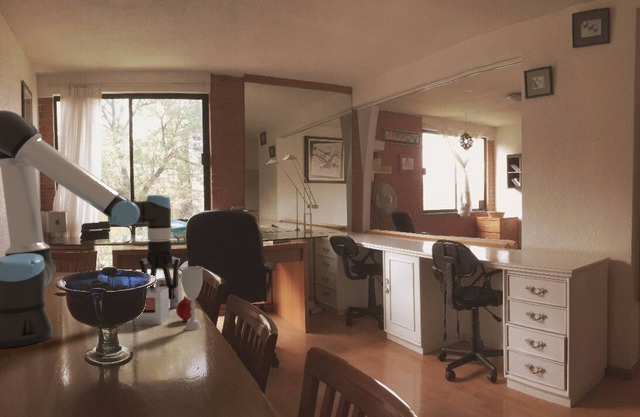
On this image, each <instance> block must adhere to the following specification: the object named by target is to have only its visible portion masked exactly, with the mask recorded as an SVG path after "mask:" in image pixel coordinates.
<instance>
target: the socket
mask: <svg viewBox="0 0 640 417" xmlns="http://www.w3.org/2000/svg"><path fill="white" fill-rule="evenodd" d="M156 280H157V282H156V283H155V282H154V286H155V287H161V286H167V284H166V280H165V277H162V278H161V277H159V278H157V279H156ZM171 280H172V284H173V277H171ZM182 289H183V288H182V277H178V286H177V287H176V288H173V298H172V299H170V308H169V309H172V308H173V309H174V308H175V309H176V308H177V305H178V304H179V302H180V301H181V300H183V298H182V295H183V294H182Z"/></svg>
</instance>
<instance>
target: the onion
mask: <svg viewBox="0 0 640 417" xmlns="http://www.w3.org/2000/svg"><path fill="white" fill-rule="evenodd" d="M190 305H191V299H189V298H188V297H187V295H184V296H183V298H182V300H181V301H180V302H179V304H178V305H177V308H175V312H176V315H177V316H178V317H179V318H180V319H181V320H183V321H184V322H187V321H188V320H190V319H191V316H192V315H191V313H190V311H191V306H190ZM194 309H195V310H196V307H195V308H194Z"/></svg>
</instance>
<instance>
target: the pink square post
mask: <svg viewBox="0 0 640 417" xmlns="http://www.w3.org/2000/svg"><path fill="white" fill-rule="evenodd" d="M161 287H167V286H161ZM144 310H155V298H146V306H145V309H144Z"/></svg>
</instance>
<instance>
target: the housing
mask: <svg viewBox="0 0 640 417" xmlns="http://www.w3.org/2000/svg"><path fill="white" fill-rule="evenodd" d="M147 298H155V310H144V311H143V313H142V314H141V315H140V316H139V317H138V318H136V319H135V320H134V319H133V320H134V326H151V325H152V326H153V325H154V326H155V325H162V324H163V323H164V322H165V321H166V320H167V319H168V318H170V313H169V312H170V308H169V293H168V287H156V286H154V287H148V288H147Z"/></svg>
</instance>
